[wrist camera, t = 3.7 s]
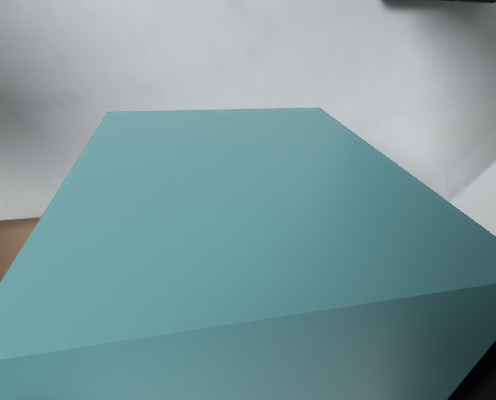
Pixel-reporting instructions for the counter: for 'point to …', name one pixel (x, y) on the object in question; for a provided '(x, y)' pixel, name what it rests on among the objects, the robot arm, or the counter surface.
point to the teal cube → (244, 269)
